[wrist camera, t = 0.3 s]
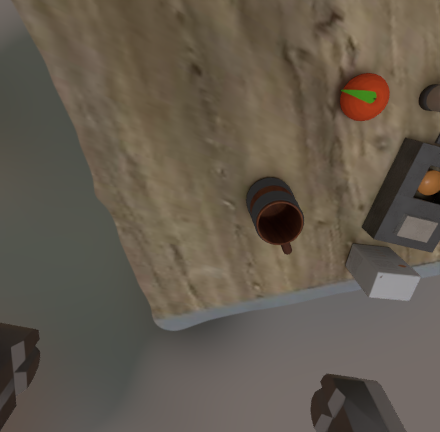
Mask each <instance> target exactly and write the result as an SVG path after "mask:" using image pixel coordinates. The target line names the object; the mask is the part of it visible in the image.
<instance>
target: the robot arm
mask: <svg viewBox="0 0 440 432" xmlns="http://www.w3.org/2000/svg"><path fill="white" fill-rule="evenodd" d="M39 339H40V338H39V330H37V329H33V328H27V327H21V326H16V325H10V324H5V323H0V431H1V429H2V428H3V426H4V424H5V423H6V421H7V420H8V418H9V417H10V415H11V413H12V412H13V410H14V409H15V407H16V396H17V395H18V394H20V393H21V392H23V391H24V390H26V389H27V388H28V387H29V385H30V383H31V382H32V380H33V378H34V376H35V374H36V371H37V369H38V366H39V362H40V350H39V349H38V348H37V347H36V346H35V345H36V344H37V342H38V341H39ZM320 382H321V385H322V388H321V389H319V390H317V391H316V392H315V393H314V395H313V397H312V400H311V418H312V422H313V426H314V429H315V430H316V431H317V432H406V430H405V428H404V426H403V424H402V423H401V421H400V419H399V417H398V415H397V413H396V412H395V410H394V408H393V406H392V405H391V402H390V401H389V399H388V397H387V395H386V393H385V391H384V390H383V388H382V386H381V385H380V384H379V383H378V382H377V381H373V380H366V379H359V378H354V377H347V376H341V375H334V374H326V375H324V376H323V378H322V380H321V381H320Z"/></svg>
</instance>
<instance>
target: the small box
mask: <svg viewBox="0 0 440 432" xmlns="http://www.w3.org/2000/svg"><path fill="white" fill-rule="evenodd" d="M345 266H346V268H347V269H348V270H349V272H350V273H351V274H352V276H353V277H354V278H355V280H356V281H357V282H358V284H359V285H360V286H361V288H362V289H363V291H364V292H365V293H366V295H367V296H368V297H370V298H383V299H393V300H404V301H409V300H410V298H411V296H412V294H413V292H414V290H415V288H416V286H417V284H418V281H419V280H420V277H421V276H420V275H419V274H418V273H417V272H416V271H414V270H413V269H412V268H411V267H410V266H409V265H408V264H407V263H406V262H405V261H404V260H402V259H401V258H400V257H399V256H398V255H397V254H396V253H395V252H394V251H393V250H392V249H390V248H389V247H381V246H371V245H361V244H353V245H352V248H351V251H350V254H349V257H348V260H347V262H346V265H345Z"/></svg>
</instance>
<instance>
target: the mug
mask: <svg viewBox="0 0 440 432" xmlns="http://www.w3.org/2000/svg"><path fill="white" fill-rule="evenodd" d="M246 202H247V208H248V211H249V213H250V215H251V217H252V221H253V223H254V226H255V229H256V231H257V234H258V235H259V236H260V238H261V239H262V240H264V241H265V242H267V243H270V244H274V245H281V247H282V250H283V252H284V253H285V254H290V253H291V252H292V248H291V245H290V242H291V241H293V240H294V239H296V238H297V237H298V235H299V234H300V233H301V231H302V229H303V225H304V216H303V213H302V211H301V209H300V207H299V205H298V203H297V201H296V200H295V198H294V195H293V193H292V191H291V189H290V188H289V186H288V185H287V184H286V183H285V182H283V181H282V180H280V179H276V178H265V179H262V180H259V181H258V182H256V183H255V184H254V185H253V186H252V187H251V188H250V190H249V192H248V194H247V199H246Z"/></svg>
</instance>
